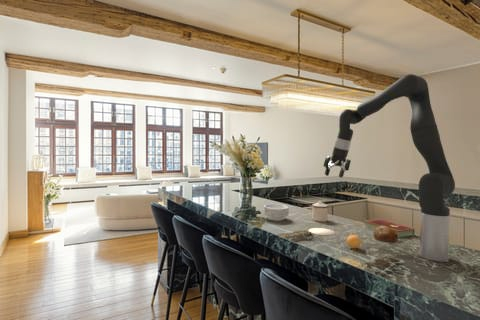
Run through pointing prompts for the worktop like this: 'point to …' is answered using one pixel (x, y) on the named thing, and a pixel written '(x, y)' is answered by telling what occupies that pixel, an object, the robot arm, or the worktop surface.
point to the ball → (353, 241)
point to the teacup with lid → (319, 212)
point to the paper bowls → (276, 211)
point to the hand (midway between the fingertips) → (333, 176)
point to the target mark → (321, 231)
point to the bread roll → (385, 234)
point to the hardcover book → (397, 228)
